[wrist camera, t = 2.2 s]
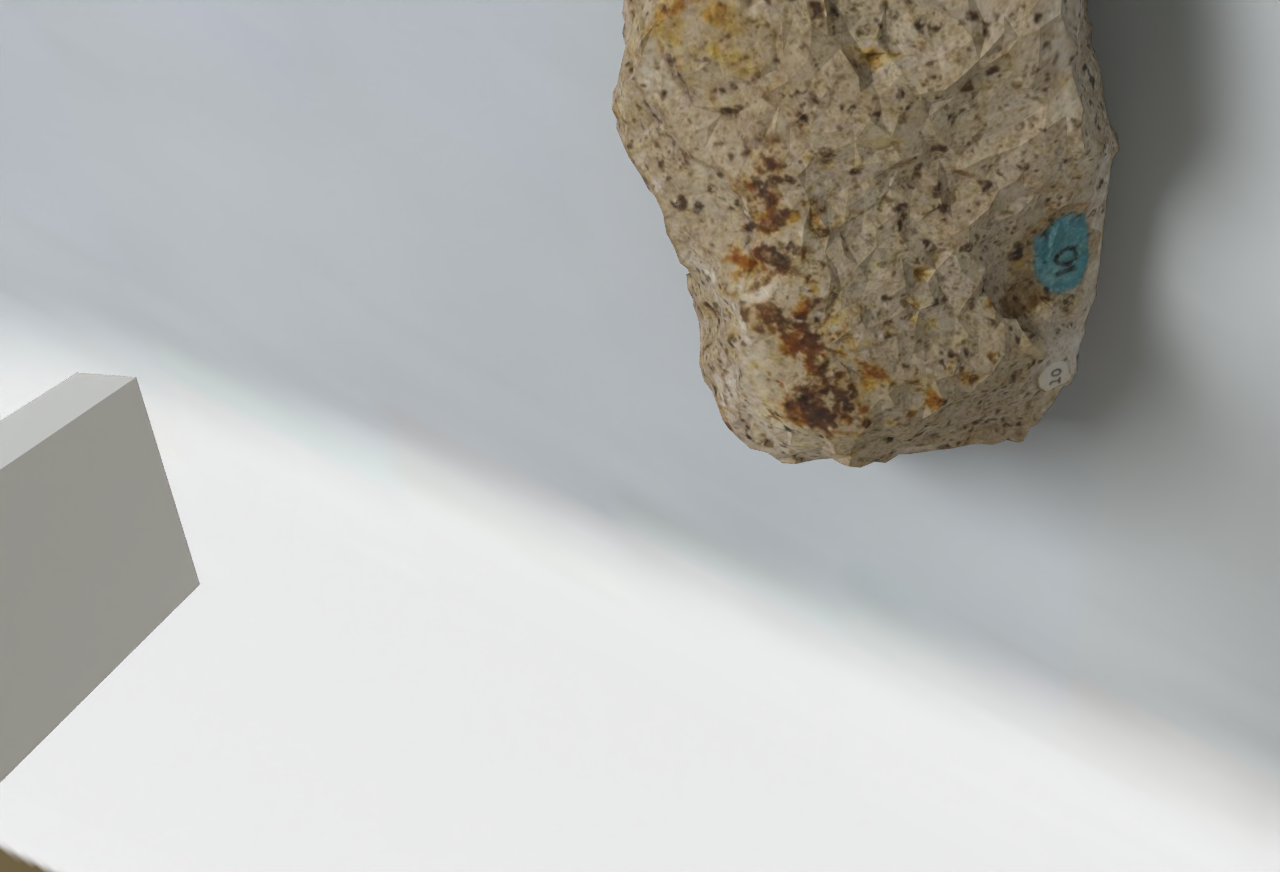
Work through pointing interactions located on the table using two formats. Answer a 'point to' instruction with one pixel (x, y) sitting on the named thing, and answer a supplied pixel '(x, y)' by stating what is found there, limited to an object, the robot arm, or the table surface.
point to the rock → (875, 209)
